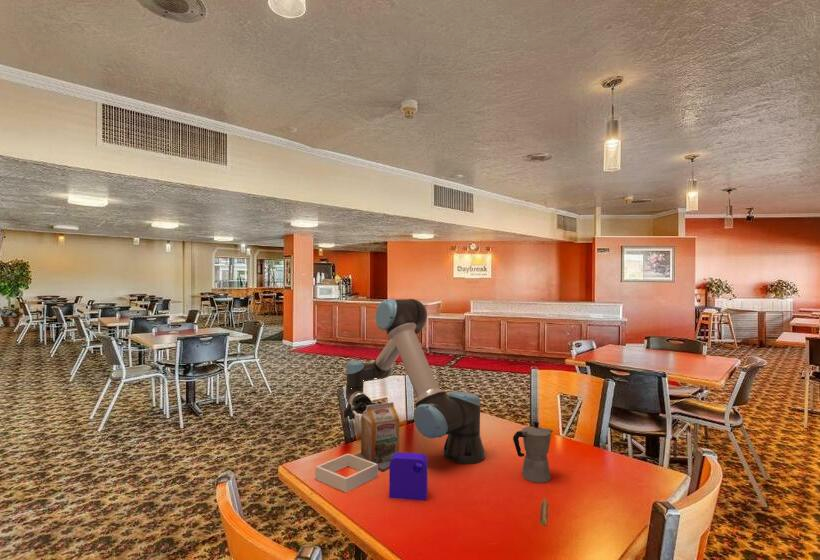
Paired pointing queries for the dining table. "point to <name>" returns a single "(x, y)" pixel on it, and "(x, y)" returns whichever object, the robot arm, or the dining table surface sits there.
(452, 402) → the robot arm
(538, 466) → the coffeepot
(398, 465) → the bracket
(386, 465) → the rubber mat
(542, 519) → the wooden stick
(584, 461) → the dining table surface
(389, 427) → the milk carton
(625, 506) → the dining table surface
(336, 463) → the carton holder
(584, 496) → the dining table surface
